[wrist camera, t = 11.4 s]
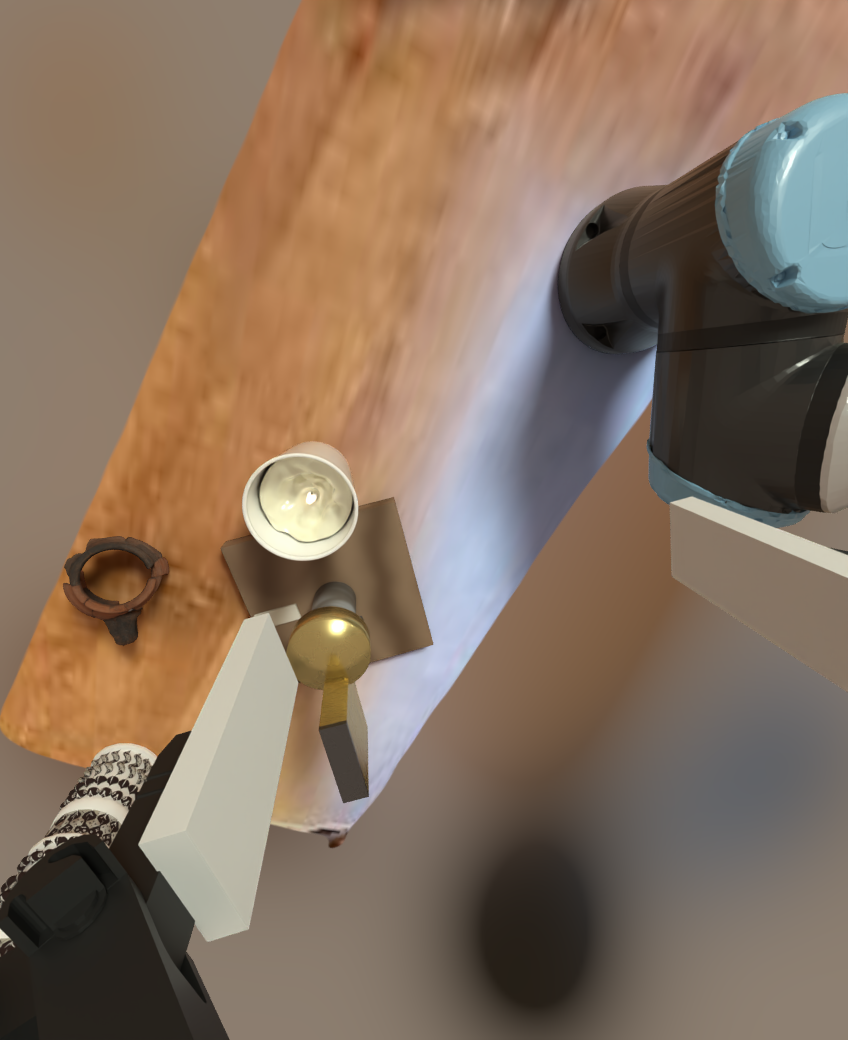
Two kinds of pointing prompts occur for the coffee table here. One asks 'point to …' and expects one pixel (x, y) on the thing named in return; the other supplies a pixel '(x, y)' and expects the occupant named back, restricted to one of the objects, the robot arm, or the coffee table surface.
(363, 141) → the coffee table surface
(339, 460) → the candle holder
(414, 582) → the post plinth
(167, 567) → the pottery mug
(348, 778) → the cap
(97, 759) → the decorative candle
